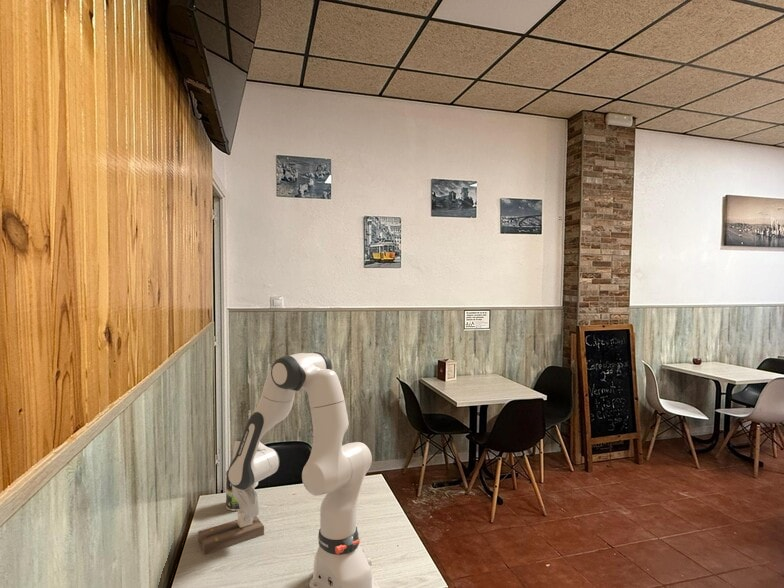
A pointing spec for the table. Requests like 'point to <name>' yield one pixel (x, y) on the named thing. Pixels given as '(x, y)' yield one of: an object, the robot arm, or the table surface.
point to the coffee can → (230, 497)
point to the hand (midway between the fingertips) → (245, 518)
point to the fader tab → (241, 519)
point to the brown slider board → (228, 535)
